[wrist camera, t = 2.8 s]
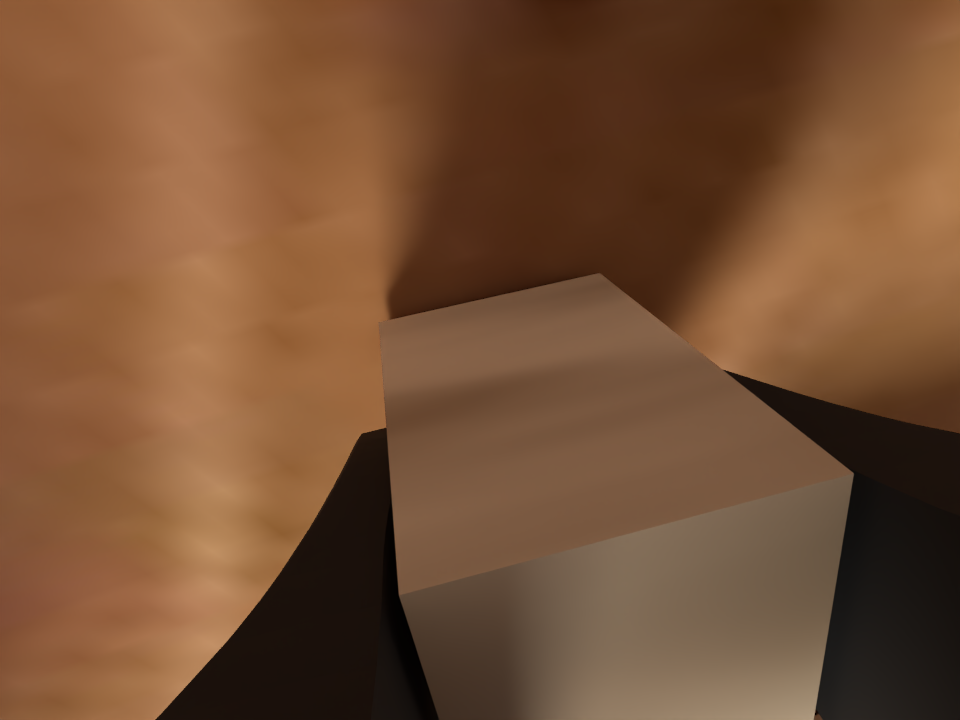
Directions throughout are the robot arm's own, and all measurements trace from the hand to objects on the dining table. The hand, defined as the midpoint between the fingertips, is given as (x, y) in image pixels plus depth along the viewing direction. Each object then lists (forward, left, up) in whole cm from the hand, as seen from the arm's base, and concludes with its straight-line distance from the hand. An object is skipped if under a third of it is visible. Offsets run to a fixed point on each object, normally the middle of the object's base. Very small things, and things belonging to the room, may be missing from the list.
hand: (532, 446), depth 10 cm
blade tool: (-5, 0, -2) cm, 5 cm away
